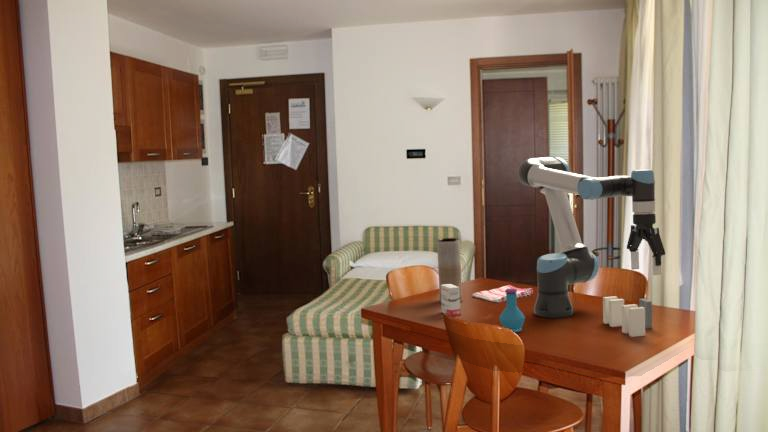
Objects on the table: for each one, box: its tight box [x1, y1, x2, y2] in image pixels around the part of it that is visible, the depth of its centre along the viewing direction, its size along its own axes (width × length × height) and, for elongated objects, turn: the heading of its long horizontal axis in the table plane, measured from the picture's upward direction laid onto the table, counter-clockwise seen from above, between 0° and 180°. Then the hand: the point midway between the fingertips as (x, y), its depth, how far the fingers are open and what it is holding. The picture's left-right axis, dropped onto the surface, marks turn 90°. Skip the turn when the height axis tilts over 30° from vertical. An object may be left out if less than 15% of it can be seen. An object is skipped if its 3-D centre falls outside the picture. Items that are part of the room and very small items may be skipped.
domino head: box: [602, 295, 619, 325], centre depth 240 cm, size 2×5×10 cm, turn 99°
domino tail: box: [628, 306, 646, 338], centre depth 223 cm, size 2×5×10 cm, turn 99°
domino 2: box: [621, 303, 639, 334], centre depth 227 cm, size 2×5×10 cm, turn 99°
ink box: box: [440, 284, 462, 317], centre depth 266 cm, size 8×5×12 cm, turn 20°
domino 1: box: [609, 298, 625, 328], centre depth 236 cm, size 2×5×10 cm, turn 99°
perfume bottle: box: [498, 288, 526, 333], centre depth 238 cm, size 9×9×15 cm
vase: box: [436, 237, 463, 303], centre depth 287 cm, size 10×10×28 cm
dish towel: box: [471, 284, 534, 304], centre depth 294 cm, size 17×23×4 cm
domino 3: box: [638, 298, 653, 329], centre depth 233 cm, size 2×5×10 cm, turn 10°
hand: (645, 272), depth 233 cm, fingers open, 13 cm apart
